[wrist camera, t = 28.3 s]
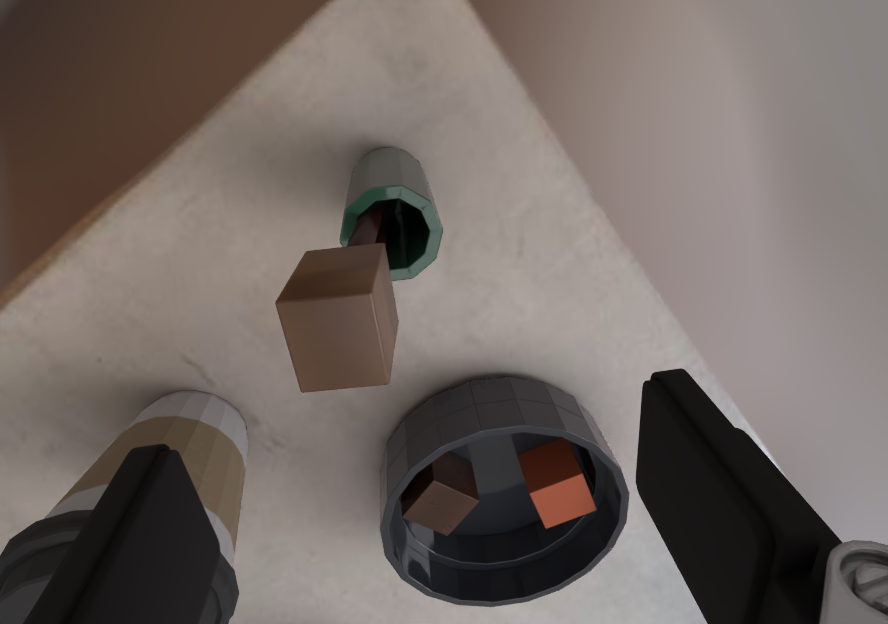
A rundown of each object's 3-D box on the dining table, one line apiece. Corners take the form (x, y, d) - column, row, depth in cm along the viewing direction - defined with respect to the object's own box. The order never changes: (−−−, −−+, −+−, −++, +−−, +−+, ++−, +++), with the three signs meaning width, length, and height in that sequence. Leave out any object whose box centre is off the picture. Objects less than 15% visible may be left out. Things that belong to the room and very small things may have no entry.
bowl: (630, 390, 41) (668, 443, 36) (557, 548, 48) (579, 612, 43) (406, 356, 38) (410, 409, 32) (363, 532, 45) (361, 599, 39)
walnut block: (472, 461, 42) (480, 501, 38) (442, 495, 43) (447, 536, 39) (429, 441, 40) (433, 480, 37) (399, 476, 42) (401, 517, 38)
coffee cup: (75, 436, 38) (-92, 655, 24) (173, 331, 35) (45, 515, 22) (214, 513, 42) (137, 734, 29) (311, 426, 39) (276, 626, 26)
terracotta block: (579, 471, 43) (597, 510, 40) (532, 489, 44) (545, 529, 40) (565, 436, 41) (582, 473, 38) (516, 454, 42) (529, 493, 38)
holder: (433, 154, 32) (452, 195, 24) (417, 229, 33) (428, 290, 25) (358, 137, 31) (350, 174, 23) (345, 214, 33) (334, 273, 25)
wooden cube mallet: (407, 157, 31) (371, 291, 15) (415, 212, 32) (389, 385, 17) (358, 163, 31) (273, 302, 15) (368, 217, 32) (300, 394, 17)
